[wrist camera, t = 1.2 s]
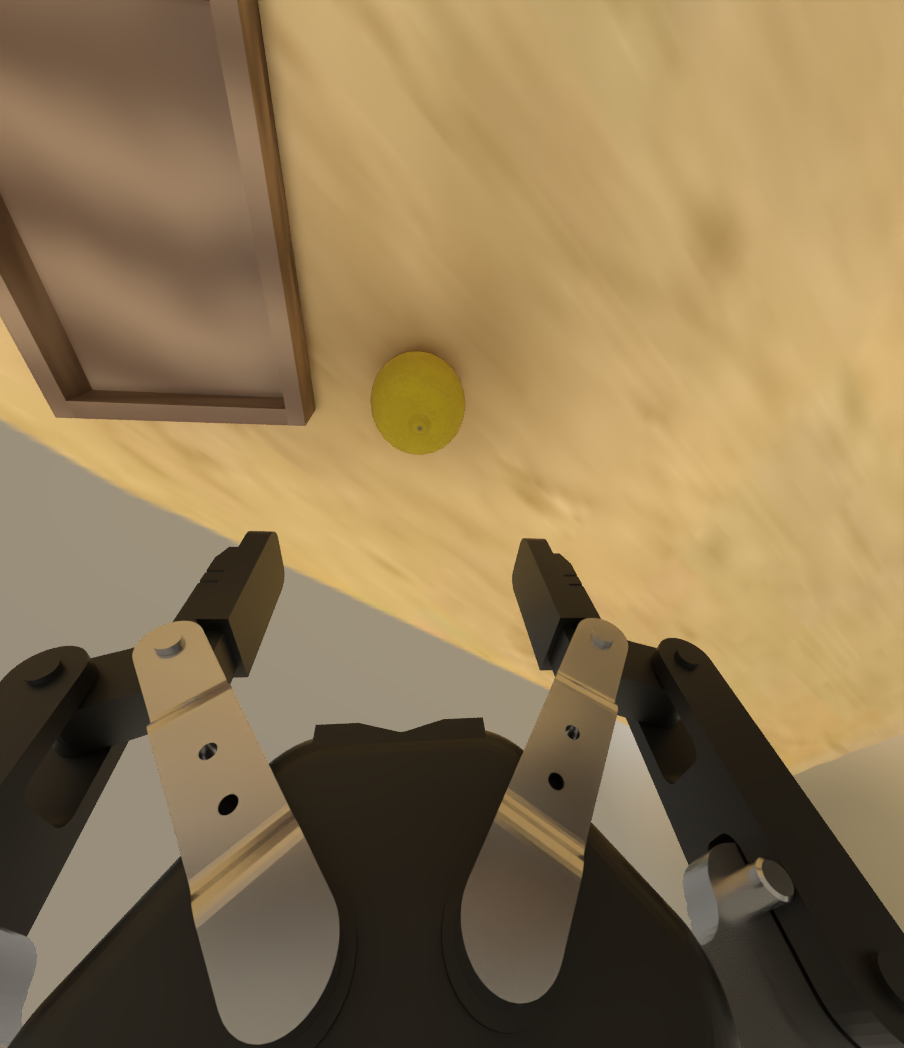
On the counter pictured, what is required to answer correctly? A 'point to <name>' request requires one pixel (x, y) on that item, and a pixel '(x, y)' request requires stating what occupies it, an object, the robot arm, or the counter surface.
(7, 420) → the counter surface
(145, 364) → the tray
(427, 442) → the lemon
